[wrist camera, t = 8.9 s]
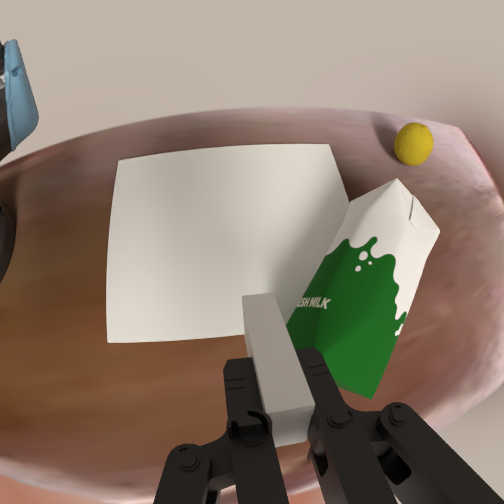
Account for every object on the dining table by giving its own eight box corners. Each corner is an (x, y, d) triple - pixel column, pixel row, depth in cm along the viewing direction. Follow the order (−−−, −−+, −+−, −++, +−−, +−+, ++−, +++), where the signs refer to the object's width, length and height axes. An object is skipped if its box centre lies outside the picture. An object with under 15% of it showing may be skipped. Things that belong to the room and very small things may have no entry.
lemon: (417, 181, 35) (445, 148, 27) (386, 167, 35) (411, 131, 28) (414, 155, 37) (438, 123, 29) (385, 142, 37) (406, 106, 30)
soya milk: (384, 405, 17) (450, 218, 24) (306, 359, 16) (401, 156, 22) (325, 383, 26) (395, 235, 32) (257, 341, 24) (348, 186, 31)
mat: (120, 162, 32) (118, 160, 32) (327, 146, 35) (328, 144, 35) (109, 342, 24) (107, 342, 24) (374, 312, 28) (377, 311, 27)
